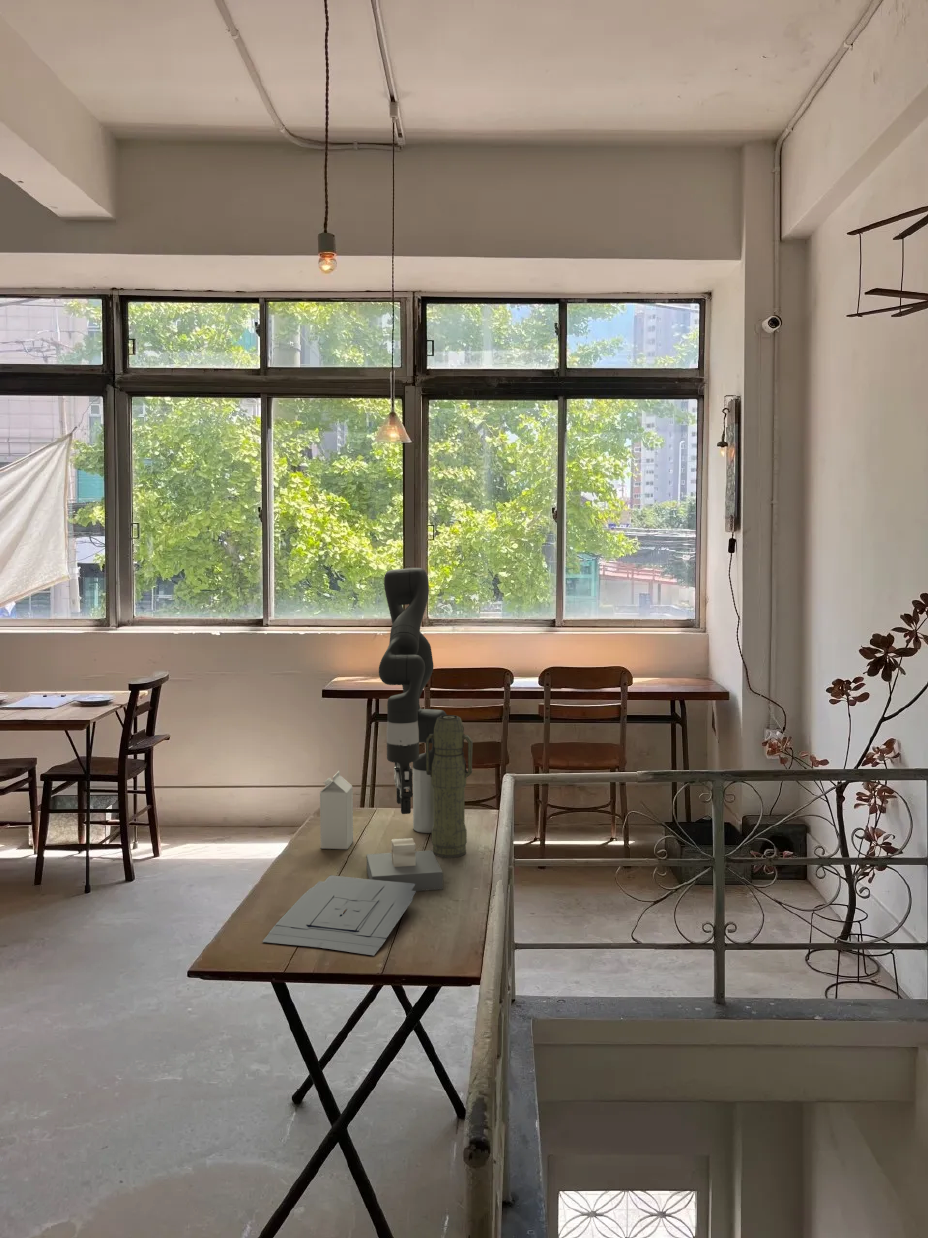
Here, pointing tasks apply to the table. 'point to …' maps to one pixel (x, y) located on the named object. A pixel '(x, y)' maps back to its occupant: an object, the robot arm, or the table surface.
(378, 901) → the papers
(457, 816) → the thermos
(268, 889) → the table surface
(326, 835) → the milk carton
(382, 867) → the charcoal plinth
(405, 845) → the cream cube
